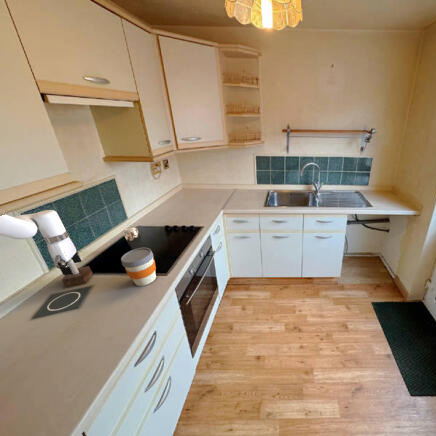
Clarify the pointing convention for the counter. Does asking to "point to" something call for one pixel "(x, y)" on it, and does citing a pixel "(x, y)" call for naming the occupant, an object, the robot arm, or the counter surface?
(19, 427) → the counter surface
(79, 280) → the holder
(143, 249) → the reusable coffee cup
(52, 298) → the slate board
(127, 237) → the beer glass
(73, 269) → the marker
